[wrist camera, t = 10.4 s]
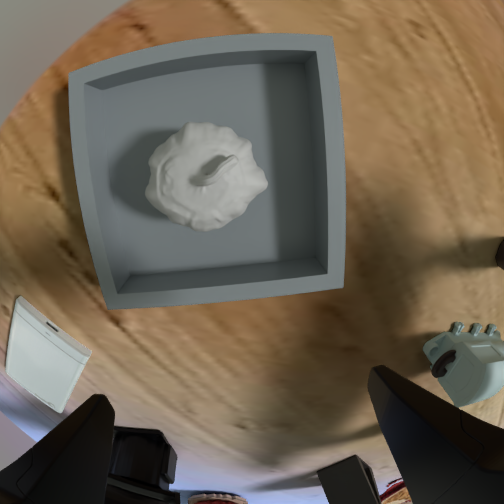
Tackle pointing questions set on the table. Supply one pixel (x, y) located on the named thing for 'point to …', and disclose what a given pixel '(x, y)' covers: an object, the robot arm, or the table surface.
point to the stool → (468, 360)
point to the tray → (244, 125)
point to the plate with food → (395, 494)
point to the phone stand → (349, 483)
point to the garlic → (204, 176)
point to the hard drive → (43, 356)
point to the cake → (216, 499)
